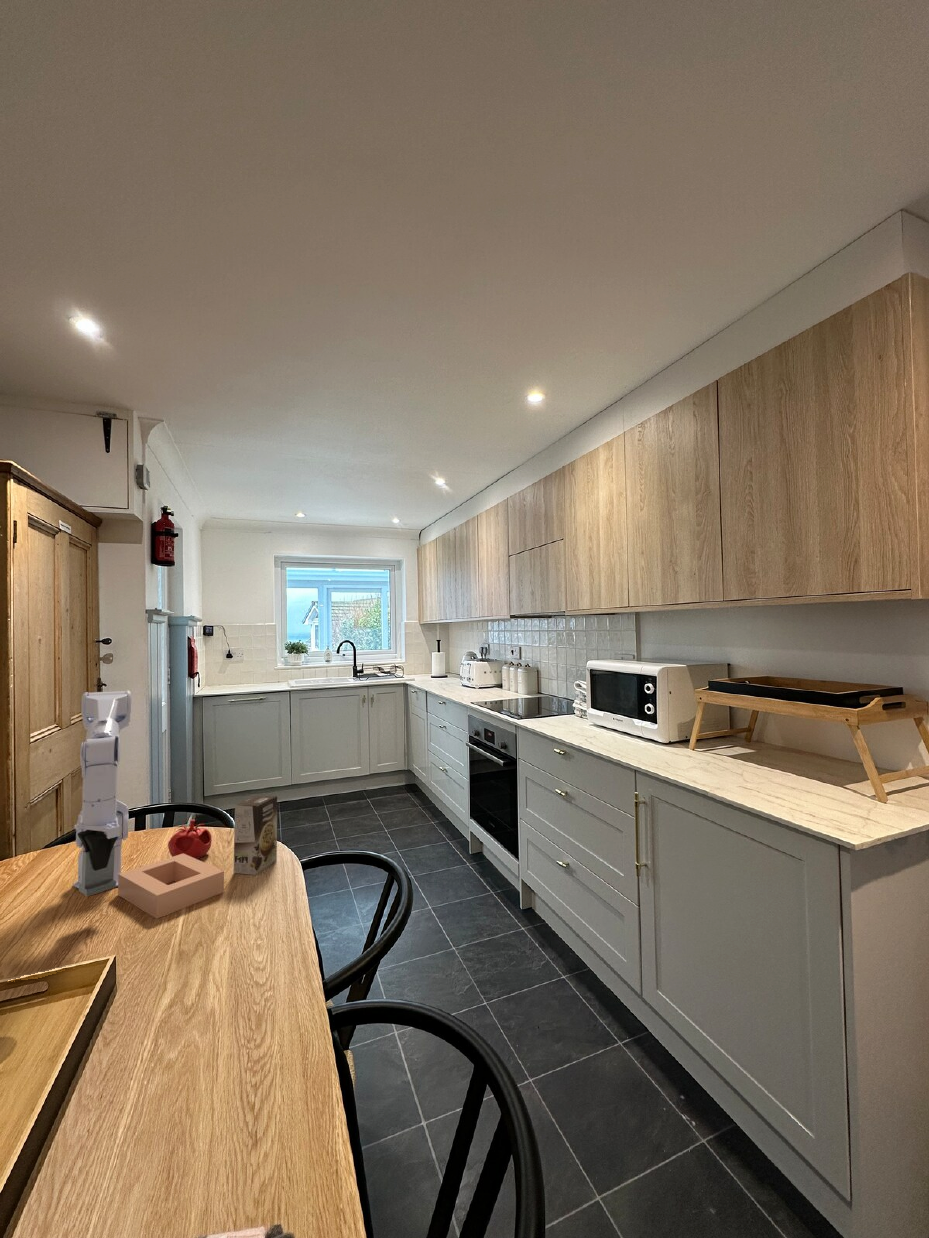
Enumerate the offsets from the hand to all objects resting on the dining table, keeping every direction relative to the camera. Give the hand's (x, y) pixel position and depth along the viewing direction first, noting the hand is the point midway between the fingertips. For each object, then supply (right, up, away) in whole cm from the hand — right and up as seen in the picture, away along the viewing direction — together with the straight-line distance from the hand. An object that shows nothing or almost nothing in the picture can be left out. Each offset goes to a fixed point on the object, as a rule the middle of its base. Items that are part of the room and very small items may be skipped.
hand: (98, 867), depth 106 cm
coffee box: (+22, -11, +24) cm, 35 cm away
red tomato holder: (+2, -12, +31) cm, 34 cm away
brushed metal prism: (0, -4, 0) cm, 4 cm away
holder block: (+9, -11, +10) cm, 17 cm away
